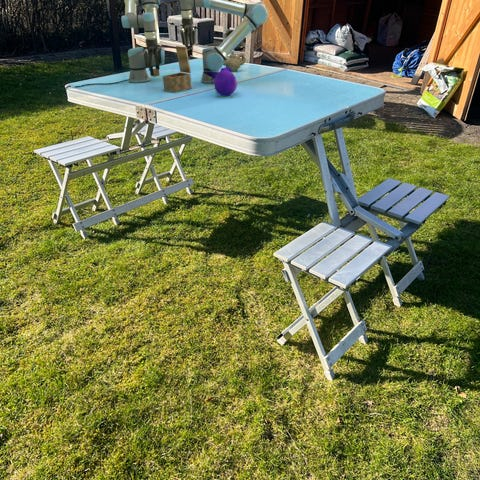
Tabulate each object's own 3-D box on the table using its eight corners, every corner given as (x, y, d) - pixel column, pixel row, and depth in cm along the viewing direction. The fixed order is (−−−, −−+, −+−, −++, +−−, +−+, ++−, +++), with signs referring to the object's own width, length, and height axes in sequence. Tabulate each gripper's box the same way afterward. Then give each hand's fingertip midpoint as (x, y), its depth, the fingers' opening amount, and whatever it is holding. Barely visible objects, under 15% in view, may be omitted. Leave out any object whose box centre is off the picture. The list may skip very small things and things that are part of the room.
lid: (185, 47, 297) (194, 44, 302) (175, 46, 303) (184, 43, 308) (189, 73, 307) (198, 69, 312) (180, 71, 313) (188, 68, 318)
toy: (224, 88, 311) (237, 101, 290) (200, 83, 303) (211, 96, 283) (230, 64, 302) (243, 76, 282) (205, 59, 295) (217, 71, 274)
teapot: (225, 73, 359) (225, 53, 352) (218, 71, 368) (218, 51, 360) (248, 70, 368) (248, 50, 361) (241, 68, 377) (241, 49, 369)
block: (154, 76, 308) (153, 70, 306) (150, 75, 311) (150, 69, 309) (159, 75, 311) (158, 69, 309) (155, 74, 313) (154, 68, 311)
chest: (173, 92, 303) (172, 77, 298) (164, 90, 309) (162, 75, 304) (191, 88, 313) (190, 74, 308) (182, 86, 319) (180, 72, 314)
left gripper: (143, 40, 291) (148, 78, 303) (164, 37, 301) (168, 74, 314) (136, 39, 295) (141, 76, 308) (158, 36, 306) (161, 72, 318)
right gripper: (182, 18, 290) (185, 57, 302) (199, 17, 299) (201, 55, 311) (174, 18, 294) (178, 56, 306) (191, 16, 303) (194, 54, 315)
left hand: (155, 75), depth 311 cm, fingers closed on block, 4 cm apart
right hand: (189, 55), depth 308 cm, fingers closed on lid, 2 cm apart
